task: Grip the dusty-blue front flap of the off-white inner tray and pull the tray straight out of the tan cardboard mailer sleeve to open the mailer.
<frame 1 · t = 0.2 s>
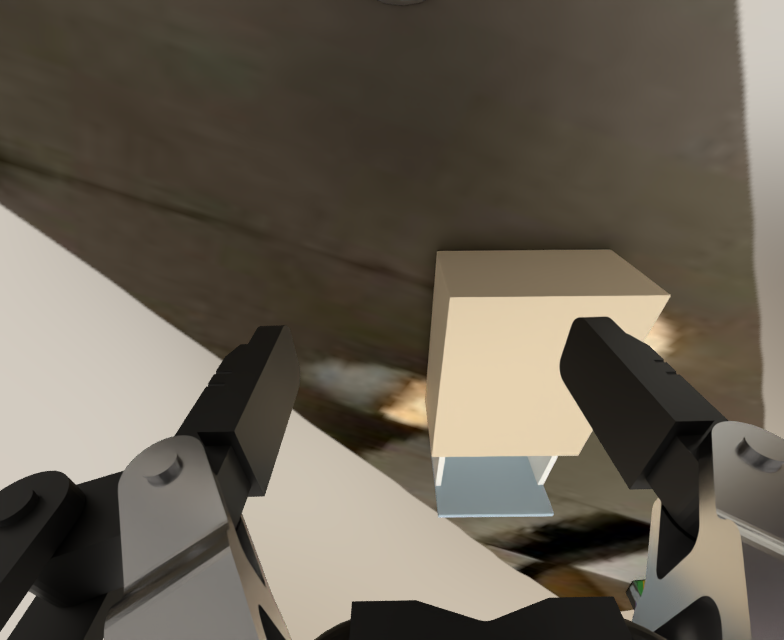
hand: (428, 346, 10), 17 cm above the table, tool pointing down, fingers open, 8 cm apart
mailer sleeve: (502, 337, 32), on the table
chalk box: (648, 583, 76), on the table
inner tray: (508, 408, 30), point 5 cm above the table, slide at 0.0 cm
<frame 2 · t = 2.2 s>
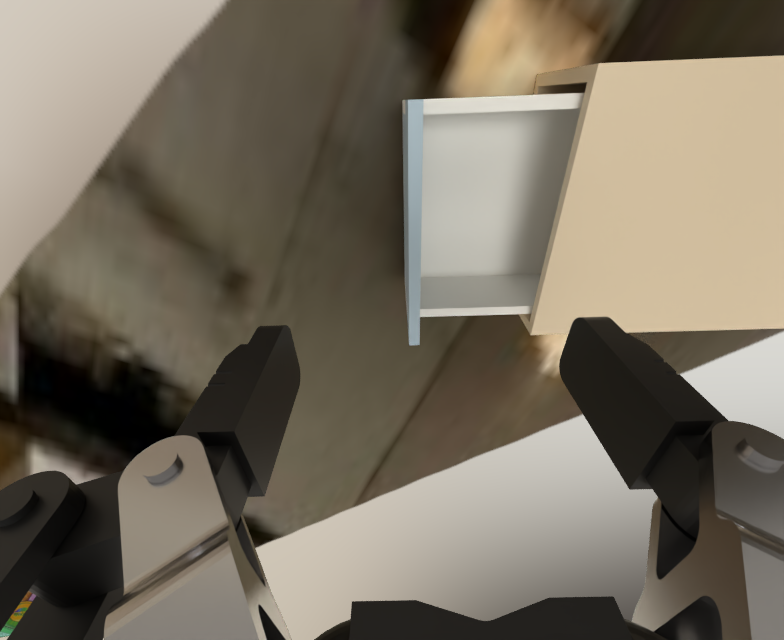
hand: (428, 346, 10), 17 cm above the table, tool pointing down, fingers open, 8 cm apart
mailer sleeve: (644, 192, 23), on the table
chalk box: (43, 529, 51), on the table
inner tray: (620, 215, 19), point 5 cm above the table, slide at 0.0 cm
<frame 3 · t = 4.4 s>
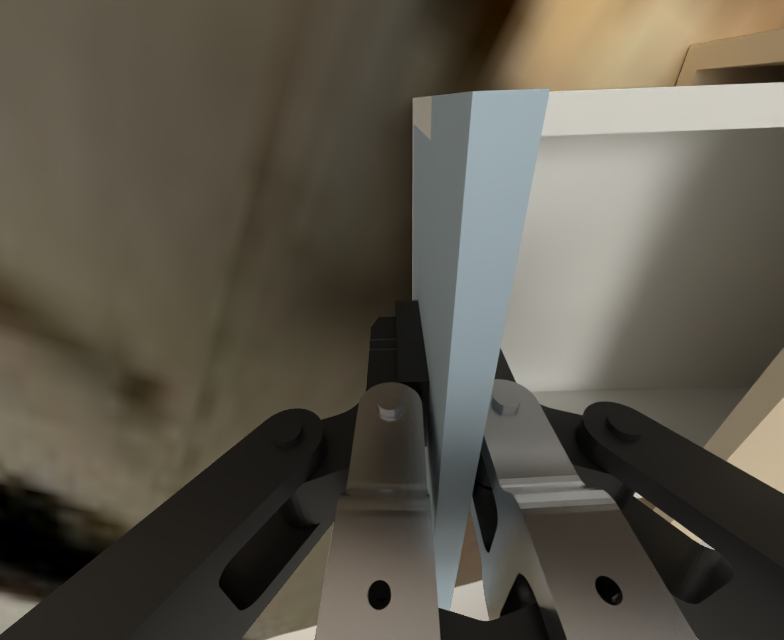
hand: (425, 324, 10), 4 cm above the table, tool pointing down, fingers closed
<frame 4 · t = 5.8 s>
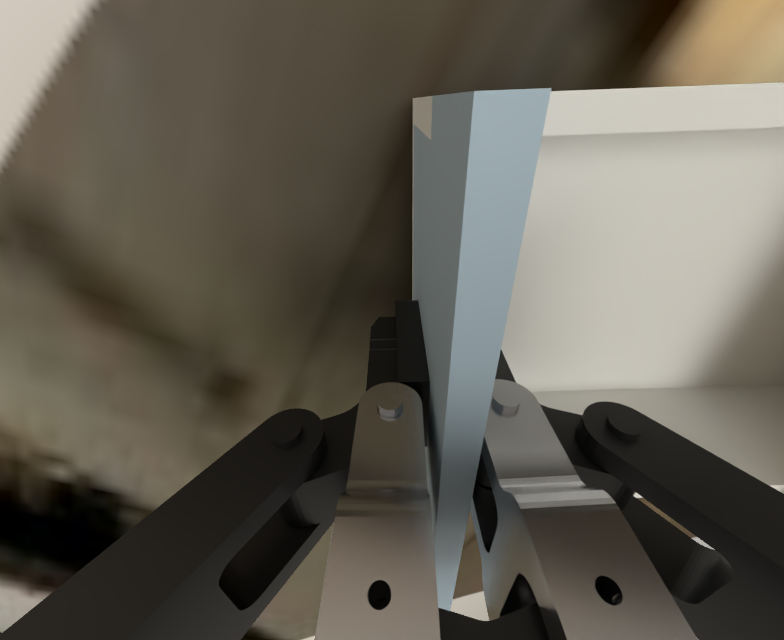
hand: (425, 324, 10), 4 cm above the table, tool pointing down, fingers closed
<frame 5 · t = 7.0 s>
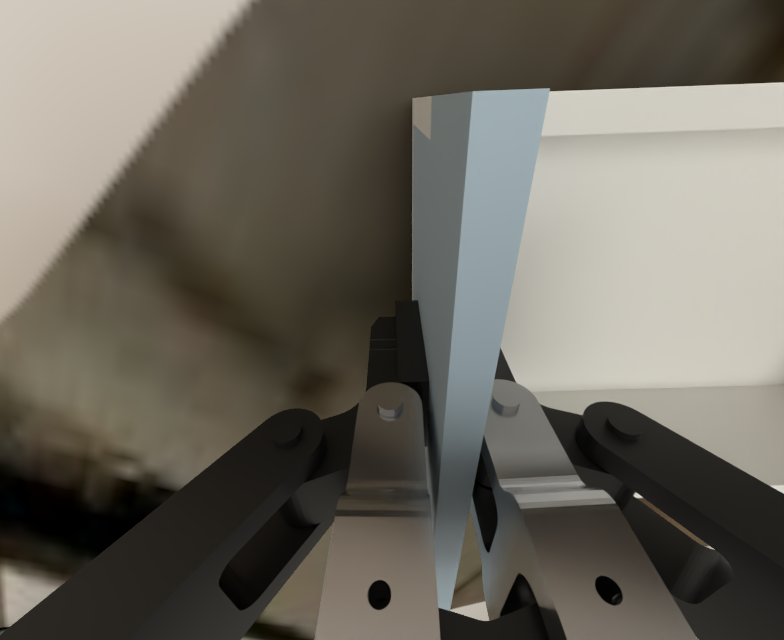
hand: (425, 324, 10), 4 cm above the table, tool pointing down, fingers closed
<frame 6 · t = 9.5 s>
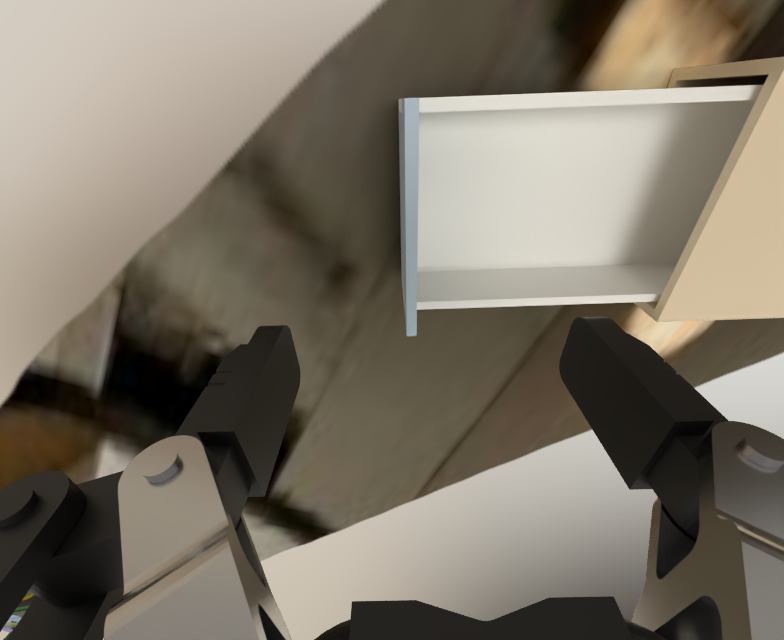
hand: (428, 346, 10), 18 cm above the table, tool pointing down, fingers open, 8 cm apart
mailer sleeve: (755, 184, 24), on the table
chalk box: (97, 527, 51), on the table
inner tray: (608, 210, 20), point 5 cm above the table, slide at 8.9 cm
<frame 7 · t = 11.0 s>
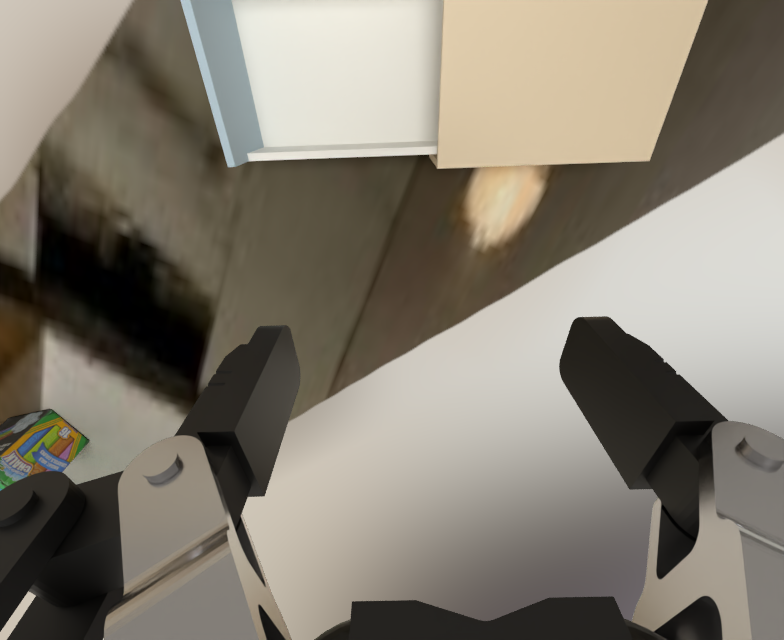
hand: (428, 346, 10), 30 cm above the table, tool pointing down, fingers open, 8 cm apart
mailer sleeve: (530, 68, 30), on the table
chalk box: (52, 428, 58), on the table
inner tray: (382, 70, 26), point 5 cm above the table, slide at 8.9 cm
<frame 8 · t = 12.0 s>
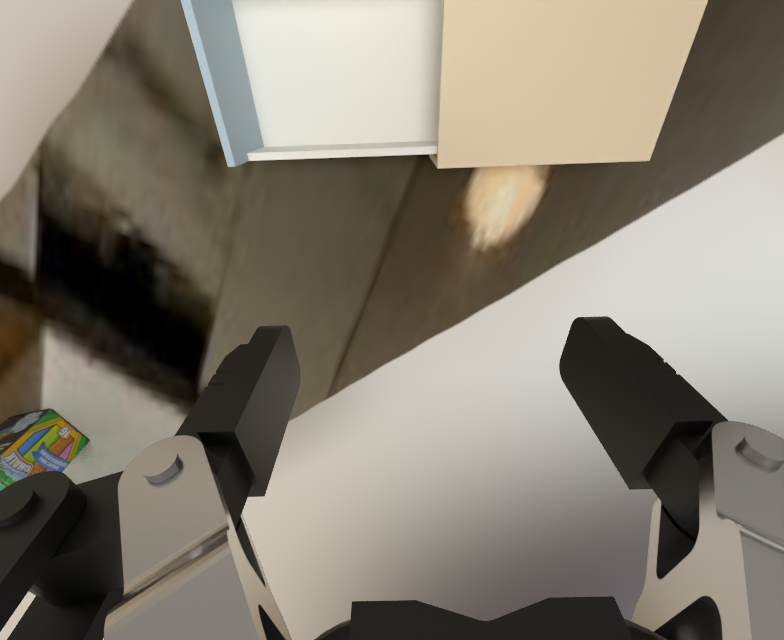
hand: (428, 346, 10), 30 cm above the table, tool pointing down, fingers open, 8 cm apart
mailer sleeve: (530, 68, 30), on the table
chalk box: (52, 427, 58), on the table
inner tray: (382, 70, 26), point 5 cm above the table, slide at 8.9 cm
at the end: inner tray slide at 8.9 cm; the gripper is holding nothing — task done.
